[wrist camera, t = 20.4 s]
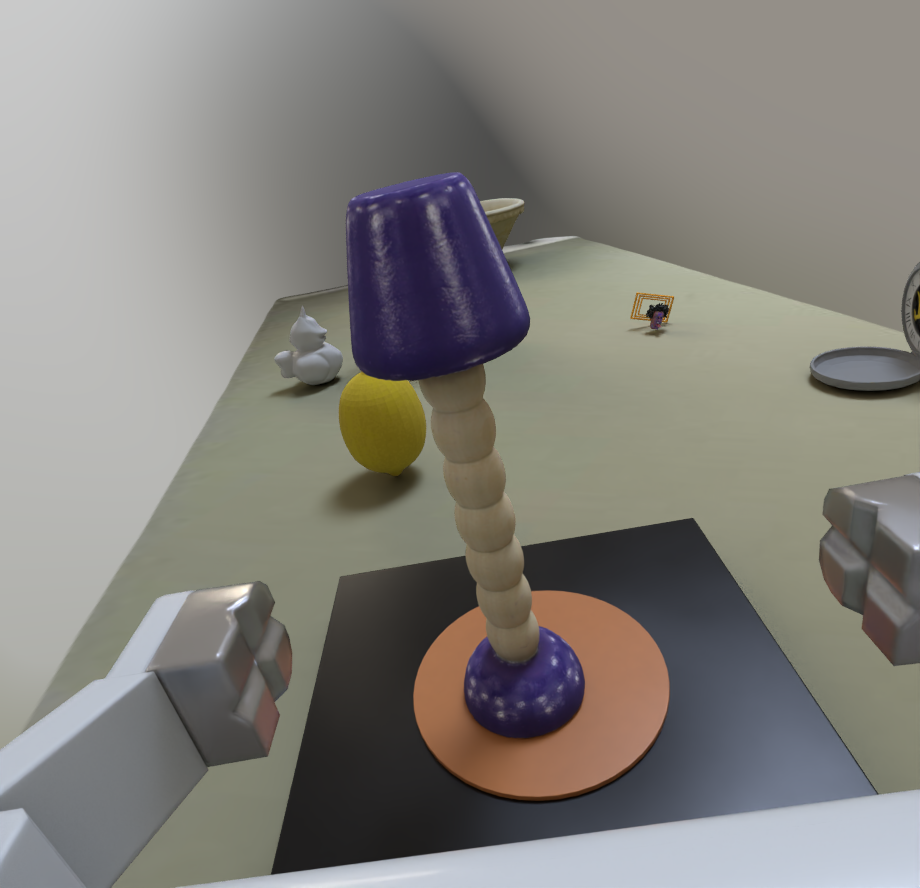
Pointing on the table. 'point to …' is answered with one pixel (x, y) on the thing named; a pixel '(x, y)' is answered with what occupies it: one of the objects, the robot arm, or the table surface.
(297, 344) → the rubber duck
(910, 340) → the pocket watch
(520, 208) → the bowl
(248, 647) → the robot arm
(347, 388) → the lemon
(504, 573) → the toy lamp
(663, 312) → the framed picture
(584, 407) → the table surface
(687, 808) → the stove
